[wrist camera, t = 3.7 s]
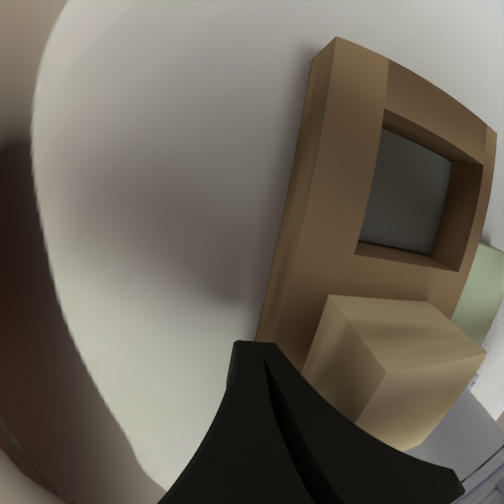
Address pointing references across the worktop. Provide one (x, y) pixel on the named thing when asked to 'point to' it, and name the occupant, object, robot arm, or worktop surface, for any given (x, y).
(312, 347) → the birch block
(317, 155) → the tray
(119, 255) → the worktop surface
